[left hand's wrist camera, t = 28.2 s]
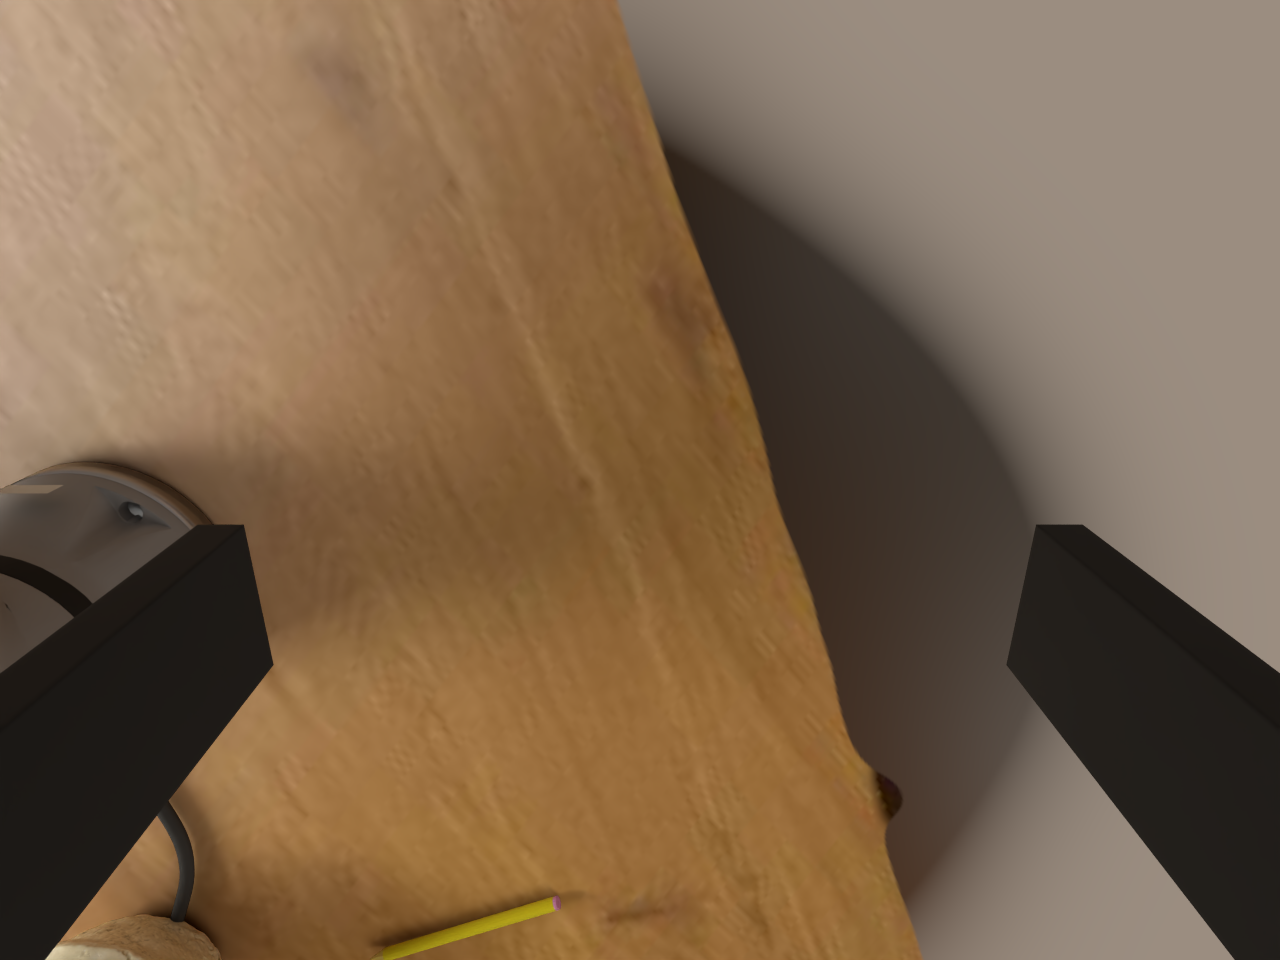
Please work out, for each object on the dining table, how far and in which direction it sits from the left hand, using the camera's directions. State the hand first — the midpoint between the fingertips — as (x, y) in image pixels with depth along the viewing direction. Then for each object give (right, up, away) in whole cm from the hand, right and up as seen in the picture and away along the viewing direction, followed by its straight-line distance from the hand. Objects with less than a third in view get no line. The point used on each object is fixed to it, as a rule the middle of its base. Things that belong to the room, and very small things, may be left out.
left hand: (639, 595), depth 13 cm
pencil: (-14, -33, +46) cm, 59 cm away
